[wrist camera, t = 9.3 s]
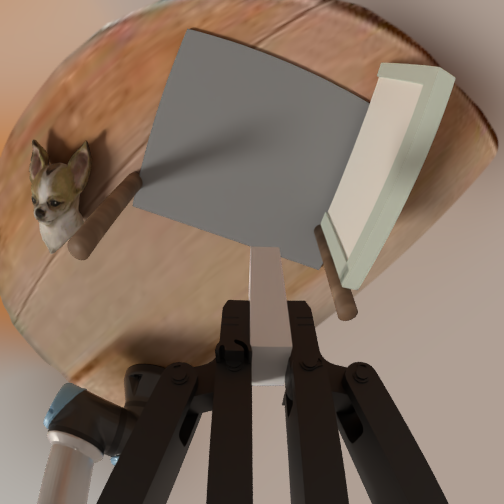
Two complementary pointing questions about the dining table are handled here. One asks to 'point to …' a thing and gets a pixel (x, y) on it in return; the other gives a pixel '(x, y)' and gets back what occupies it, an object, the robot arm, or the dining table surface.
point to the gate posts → (126, 190)
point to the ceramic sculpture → (58, 193)
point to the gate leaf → (384, 165)
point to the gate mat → (248, 147)
